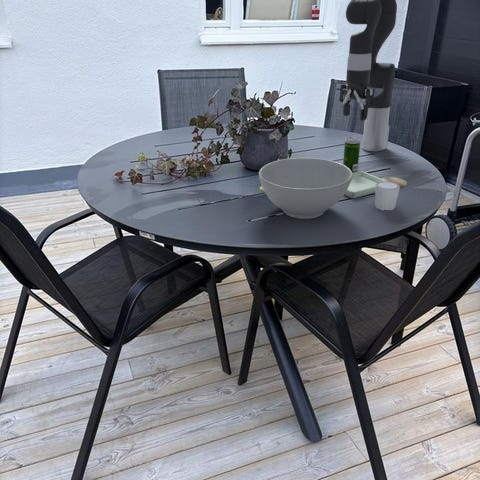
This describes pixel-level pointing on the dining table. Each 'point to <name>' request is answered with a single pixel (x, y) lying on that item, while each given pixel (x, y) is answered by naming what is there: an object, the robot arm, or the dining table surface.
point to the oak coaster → (396, 181)
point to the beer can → (351, 153)
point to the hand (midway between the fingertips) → (354, 117)
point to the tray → (362, 184)
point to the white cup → (386, 195)
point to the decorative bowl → (305, 185)
